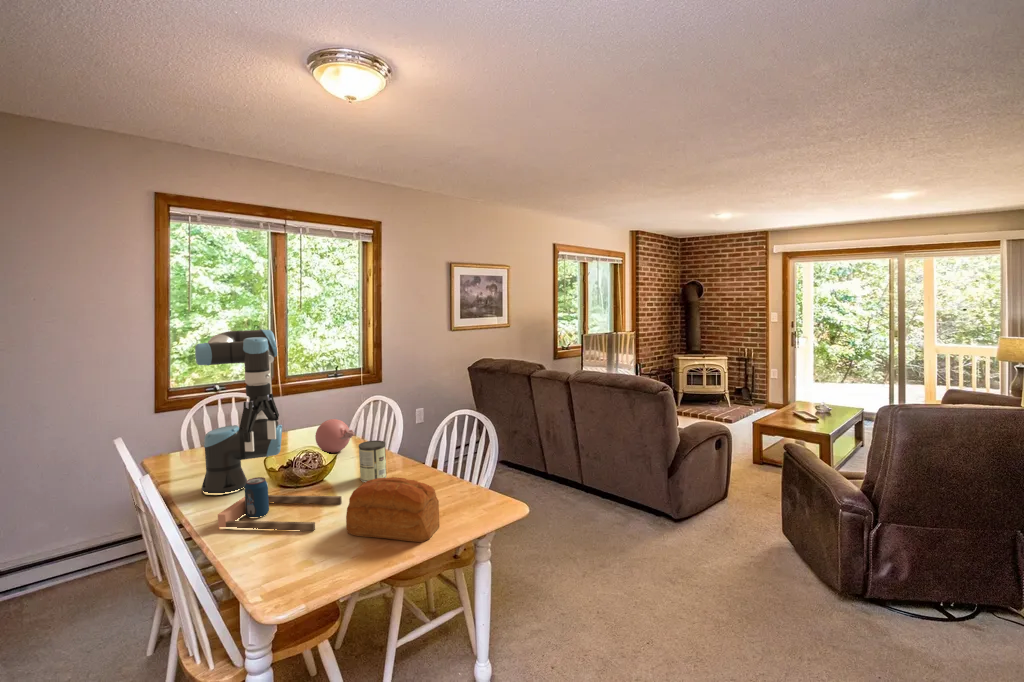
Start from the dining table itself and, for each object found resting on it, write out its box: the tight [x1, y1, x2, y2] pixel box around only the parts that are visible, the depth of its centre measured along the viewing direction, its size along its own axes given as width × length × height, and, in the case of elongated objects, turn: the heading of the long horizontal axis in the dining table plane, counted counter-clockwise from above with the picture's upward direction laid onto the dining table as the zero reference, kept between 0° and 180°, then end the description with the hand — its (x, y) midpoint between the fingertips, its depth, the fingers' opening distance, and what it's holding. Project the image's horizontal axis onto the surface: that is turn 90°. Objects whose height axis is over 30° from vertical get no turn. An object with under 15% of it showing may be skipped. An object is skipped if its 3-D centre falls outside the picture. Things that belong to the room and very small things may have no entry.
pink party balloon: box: [314, 418, 356, 454], centre depth 244 cm, size 15×20×15 cm
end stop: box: [217, 496, 246, 528], centre depth 175 cm, size 2×22×5 cm, turn 176°
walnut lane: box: [226, 494, 343, 532], centre depth 174 cm, size 28×22×2 cm
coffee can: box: [358, 440, 388, 483], centre depth 208 cm, size 10×10×14 cm
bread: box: [345, 476, 440, 543], centre depth 162 cm, size 16×27×16 cm, turn 76°
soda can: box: [244, 476, 270, 518], centre depth 174 cm, size 7×7×12 cm
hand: (261, 444), depth 179 cm, fingers open, 13 cm apart
